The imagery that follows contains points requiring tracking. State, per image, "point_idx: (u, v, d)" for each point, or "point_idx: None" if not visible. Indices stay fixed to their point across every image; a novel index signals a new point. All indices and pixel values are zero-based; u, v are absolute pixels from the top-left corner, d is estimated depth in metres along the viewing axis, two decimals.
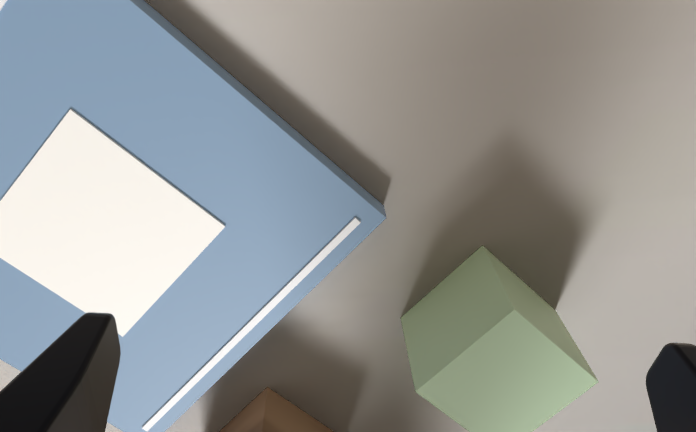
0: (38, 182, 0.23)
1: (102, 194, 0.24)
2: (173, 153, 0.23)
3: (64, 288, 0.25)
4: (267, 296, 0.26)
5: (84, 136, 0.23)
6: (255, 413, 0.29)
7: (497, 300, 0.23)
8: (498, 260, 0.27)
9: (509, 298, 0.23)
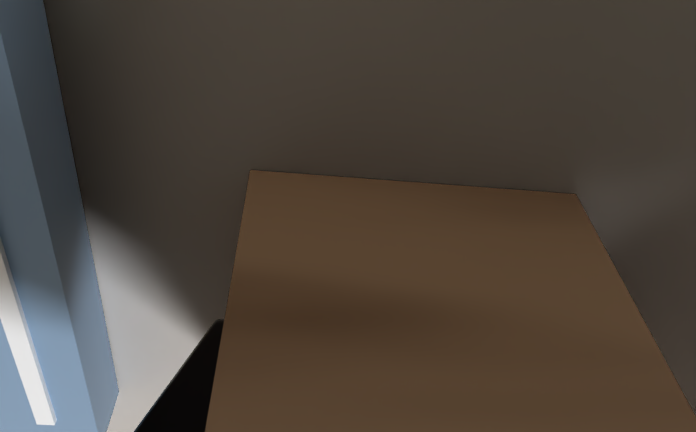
0: None
1: None
2: None
3: None
4: None
5: None
6: None
7: None
8: None
9: None
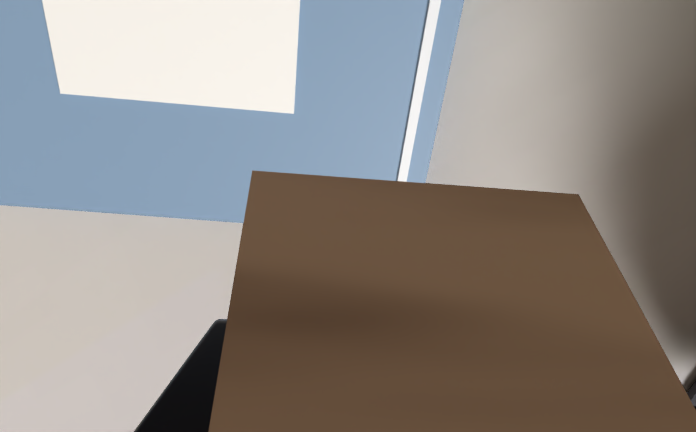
0: None
1: None
2: None
3: (191, 92, 0.19)
4: None
5: None
6: None
7: None
8: None
9: None
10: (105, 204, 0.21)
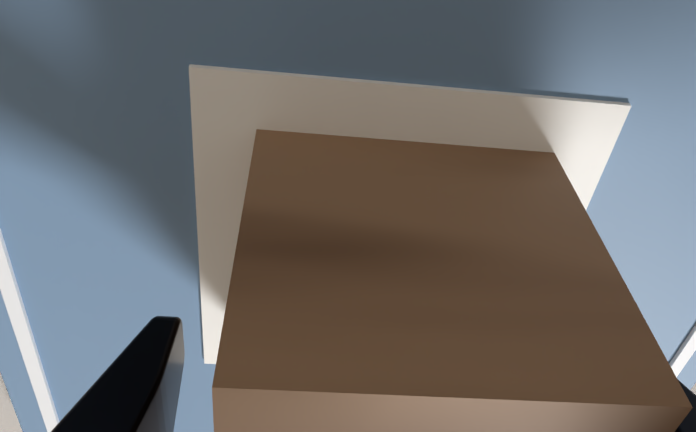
0: (233, 231, 0.11)
1: None
2: (443, 18, 0.09)
3: None
4: None
5: (250, 101, 0.10)
6: None
7: None
8: None
9: None
10: None
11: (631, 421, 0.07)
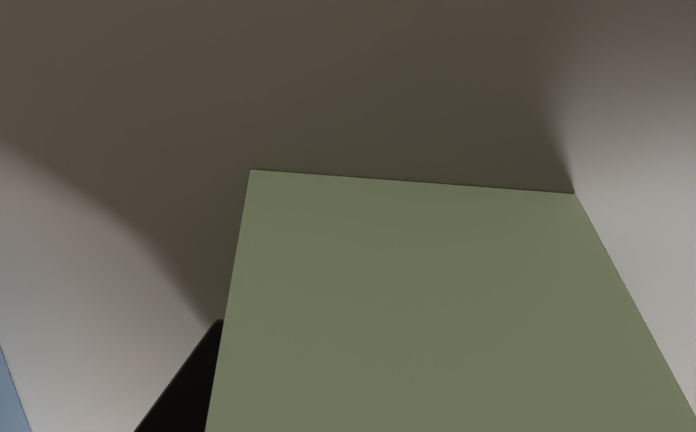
0: None
1: None
2: None
3: None
4: None
5: None
6: None
7: None
8: (317, 183, 0.09)
9: (219, 416, 0.06)
10: None
11: None
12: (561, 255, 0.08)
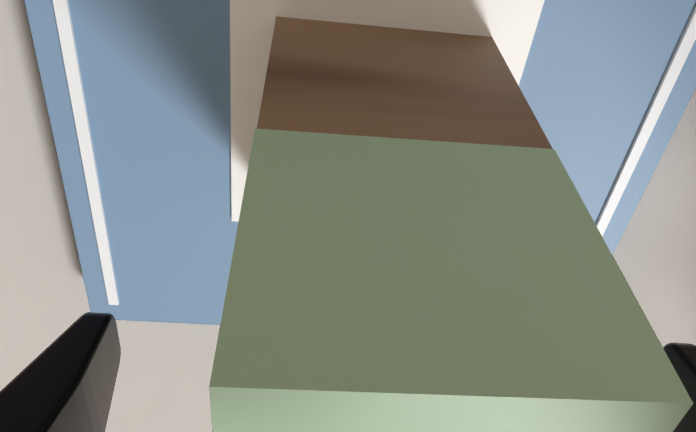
0: (257, 103, 0.15)
1: None
2: None
3: None
4: (657, 69, 0.15)
5: None
6: None
7: None
8: (316, 140, 0.10)
9: (230, 322, 0.07)
10: None
11: None
12: (538, 199, 0.09)
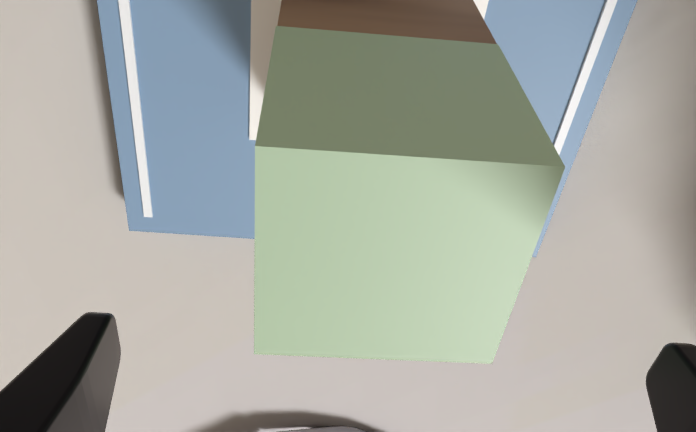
0: (271, 34, 0.19)
1: None
2: None
3: None
4: (596, 6, 0.19)
5: None
6: None
7: None
8: (321, 33, 0.13)
9: (265, 119, 0.10)
10: None
11: None
12: (481, 70, 0.13)
